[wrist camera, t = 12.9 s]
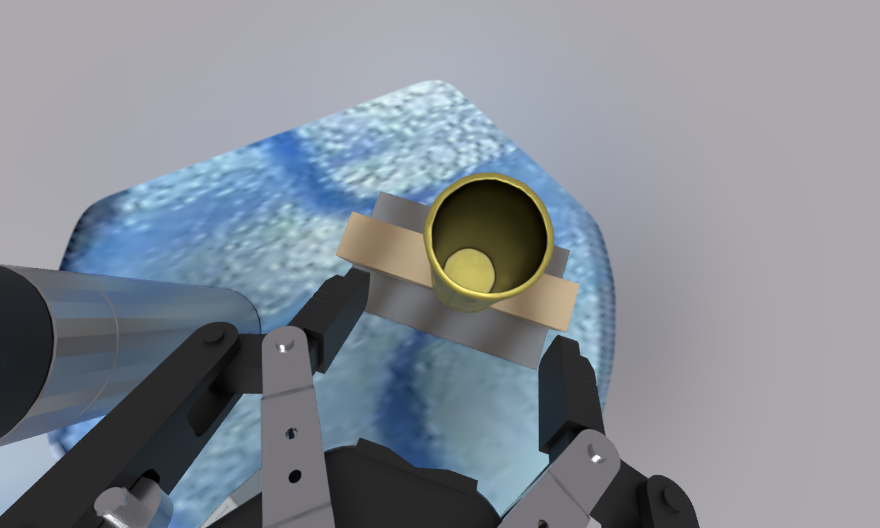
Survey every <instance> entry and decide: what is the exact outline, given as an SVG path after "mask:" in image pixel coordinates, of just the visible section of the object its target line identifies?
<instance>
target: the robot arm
mask: <svg viewBox="0 0 880 528" xmlns="http://www.w3.org/2000/svg"><path fill="white" fill-rule="evenodd" d="M369 285H370V272H367V271H364V270H361V269H358V268H355V267H352V268H351V269H350V270H349V271H348V273H347V274H346V275H345V276H344V277H342V276H339V275H335V276H333V277H332V278H330V279H328V280H326V281H325V282H324V283H323V284H322V286H321V287H320V288H319V289H318V291H316V293H315V294H314V295H313V297H312V298H310V300H309V301H308V302H307V303H306V304H305V305H304V307H303V308H302V309H301V310H300V311H299V312H298V314H297V315H296V316H295V317H294V318H293V319H292V321H291V322H290V323H289V324H288V325H287V326H283V327H279V328H276V329H274V330H272V331H271V332H269V333H268V334H260V325H259V319H258V316H257V313H256V311H255V309H254V308H253V306H252V304H251V303H250V302H249V301H248V300H247V299H246V298H245V297H244V296H242V295H241V294H239V293H237V292H235V291H232V290H229V289H221V288H212V287H204V286H196V285H187V284H178V283H169V282H160V281H151V280H142V279H133V278H123V277H114V276H105V275H96V274H87V273H78V272H69V271H57V270H48V269H39V268H29V267H20V266H11V265H2V264H0V446H4V445H7V444H10V443H14V442H17V441H20V440H23V439H27V438H31V437H33V436H37V435H40V434H44V433H47V432H50V431H53V430H57V429H60V428H63V427H67V426H70V425H74V424H77V423H80V422H84V421H87V420H90V419H94V418H97V417H101V416H104V415H106V416H105V417H104V418H103V419H102V420H101V421H100V422H99V423H98V424H97V425H96V426H95V427H94V428H93V429H91V430H90V431H89V432H88V433H87V434H86V435H85V436H84V437H83V438H82V439H81V440H80V441H79V442H78V443H77V444H76V445H75V446H74V447H73V448H72V449H71V450H69V451H68V452H67V453H66V454H65V455H64V456H63V457H62V458H61V459H60V460H59V461H58V462H57V463H56V464H55V465H54V466H53V467H52V468H51V469H50V470H49V471H47V472H46V473H45V474H44V475H43V476H42V477H41V478H40V479H39V480H38V481H37V482H36V483H35V484H34V485H33V486H32V487H31V488H30V489H29V490H28V491H27V492H25V493H24V494H23V495H22V496H21V497H20V498H19V499H18V500H17V501H16V502H15V503H14V504H13V505H12V506H11V507H10V508H9V509H8V510H7V511H5V513H3V514H2V515H1V516H0V528H167V527H168V525H169V523H170V521H171V519H172V515H173V503H172V500H171V499H170V497H169V496H168V495H169V494H170V493H171V491H172V490H173V489H174V487H175V486H176V484H177V483H178V482H179V480H180V479H181V478H182V476H183V475H184V474H185V472H186V471H187V470H188V468H189V467H190V465H191V464H192V463H193V461H194V460H195V459H196V457H197V456H198V455H199V453H200V452H201V451H202V449H203V448H204V446H205V445H206V444H207V442H208V441H209V440H210V438H211V437H212V436H213V434H214V433H215V431H216V430H217V429H218V427H219V426H220V425H221V423H222V422H223V421H224V419H225V418H226V417H227V415H228V414H229V412H230V411H231V410H232V408H233V407H234V406H235V404H236V403H237V402H238V400H239V399H240V398H241V396H242V395H243V393H244V394H263V398H262V399H261V452H262V491H261V492H260V493H258V494H257V495H255V496H254V497H252V498H251V499H249V500H248V501H246V502H244V503H243V504H241V505H240V506H238V507H237V508H235V509H234V510H232V511H230V512H229V513H227V514H226V515H224V516H223V517H221V518H220V519H218V520H217V521H215V522H213V523H212V524H210V525H209V526H207V527H206V528H586V527H587V525H588V523H589V521H590V518H589V515H590V516H591V517H592V518H594V519H595V520H596V521H598V522H599V523H600V524H601V526H602V528H700V527H699V524H698V520H697V517H696V513H695V510H694V507H693V505H692V503H691V501H690V499H689V498H688V496H687V495H686V494H685V492H684V491H683V490H682V489H681V488H680V487H679V486H678V485H677V484H676V483H675V482H674V481H672V480H671V479H669V478H667V477H665V476H662V475H654V476H651V477H650V478H647V477H645V476H644V475H642V474H641V473H639V472H638V471H637V470H635V469H634V468H632V467H631V466H629V465H628V464H626V463H625V462H624V461H622V460H621V459H620V457H619V454H618V452H617V449H616V448H615V447H614V445H613V443H612V442H611V441H610V440H609V439H608V438H607V437H606V435H605V431H604V425H603V419H602V413H601V407H600V401H599V396H598V389H597V386H596V378H595V372H594V369H593V368H592V366H591V364H590V362H589V360H588V359H587V358H585V357H582V356H580V350H579V343H578V342H577V341H575V340H572V339H569V338H566V337H563V336H560V335H557V336H556V337H555V339H554V340H553V342H552V343H551V345H550V346H549V348H548V349H547V351H546V352H545V354H544V355H543V357H542V359H541V362H540V365H539V372H538V377H539V451H540V452H543V453H546V454H549V464H548V465H547V466H546V467H545V468H544V469H543V470H542V471H541V472H540V474H539V475H538V476H537V477H536V478H535V479H534V480H533V481H532V482H531V484H530V485H529V486H528V487H527V488H526V489H525V490H524V491H523V492H522V493H521V495H520V496H519V497H518V498H517V499H516V500H515V501H514V502H513V503H512V504H511V505H510V506H509V507H508V508H507V509H506V511H505V512H504V513H503V514H502V515H501V516H499V515H498V513H497V512H496V510H495V509H494V507H493V506H492V505H491V503H490V502H489V501H488V500H487V499H486V498H485V497H484V496H483V495H482V494H481V493H479V492H478V491H477V482H478V480H475V479H472V478H469V477H467V476H464V475H461V474H458V473H456V472H453V471H450V470H444V469H428V468H416V467H414V466H412V465H411V464H410V463H408V462H407V461H406V460H404V459H403V458H401V457H400V456H399V455H397V454H396V453H395V452H393V451H392V450H390V449H389V448H387V447H384V446H382V445H379V444H376V443H374V442H371V441H368V440H365V439H363V438H359V441H358V443H357V445H356V446H341V447H336V448H333V449H330V450H327V451H325V452H324V451H323V444H322V437H321V430H320V423H319V416H318V409H317V402H316V395H315V389H314V386H313V380H312V377H313V375H314V374H315V372H316V371H317V372H320V373H323V374H325V372H326V371H327V369H328V368H329V366H330V364H331V363H332V361H333V360H334V358H335V356H336V355H337V353H338V352H339V350H340V348H341V347H342V345H343V344H344V342H345V340H346V339H347V337H348V336H349V334H350V332H351V331H352V329H353V328H354V326H355V324H356V323H357V321H358V320H359V318H360V316H361V315H362V313H363V312H364V310H365V307H366V305H367V301H368V296H369Z"/></svg>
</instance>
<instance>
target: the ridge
mask: <svg viewBox="0 0 880 528" xmlns="http://www.w3.org/2000/svg"><path fill="white" fill-rule="evenodd" d="M430 209H431V207H429V206H426V205H423V204H420V203H417V202H413V201H410V200H407V199H404V198H401V197H398V196H394V195H391V194H388V193H385V192H382V191H380V193H379V196H378V199H377V201H376V204H375V207H374V209H373V212H372V215H371V217H367V216H364V215H361V214H358V213H355V212H352V214H351V217H350V219H349V222H348V224H347V227H346V230H345V232H344V235H343V237H342V240H341V243H340V245H339V248H338V250H337V253H336V256H338V257H340V258H342V259H344V260H346V261H348V262H350V263H352V264H353V265H352V267H355V268H358V269H361V270H364V271H367V272H370V285H369V296H368V301H367V305H366V307H365V310H364V311H365V312H368V313H371V314H374V315H377V316H380V317H383V318H386V319H389V320H392V321H395V322H397V323H400V324H403V325H406V326H409V327H412V328H415V329H418V330H421V331H424V332H427V333H430V334H432V335H435V336H438V337H441V338H444V339H447V340H450V341H453V342H456V343H459V344H462V345H464V346H467V347H470V348H473V349H476V350H479V351H482V352H485V353H488V354H491V355H494V356H496V357H499V358H502V359H505V360H508V361H511V362H514V363H517V364H520V365H523V366H526V367H528V368H531V369H534V370H536V369H537V366H538V362H539V359H540V355H541V352H542V348H543V345H544V341H545V337H546V334H547V330H548V329H552V330H558V331H564V332H567V329H568V325H569V322H570V318H571V314H572V311H573V307H574V303H575V300H576V296H577V292H578V289H579V284H576V283H573V282H570V281H567V280H564V279H562V277H563V274H564V270H565V266H566V263H567V259H568V256H569V252H570V250H567V249H564V248H560V247H557V246H554V248H553V253H552V257H551V259H550V261H549V264H548V266H547V267H546V269H545V271H544V273H543V274H542V276H541V277H540V278H539V280H538V281H537V282H536V283H535V284H534V285H533V286H531V287H530V288H528V289H527V290H526V291H524V292H523V293H521V294H519V295H518V296H516V297H514V298H510V299H506V300H502V301H499V302H497V303H495V304H493V305H491V306H490V307H489V308H487V309H485V310H482V311H480V312H476V313H462V312H458V311H455V310H452V309H450V308H449V307H447V306H446V305H444V304H443V303H442V302H441V301H440V299H439V298H438V297H437V295H436V293H435V291H434V289H433V287H432V281H431V270H430V263H429V261H428V257H427V254H426V250H425V245H424V240H423V227H424V222H425V219H426V217H427V215H428V213H429V211H430Z"/></svg>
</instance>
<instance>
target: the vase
mask: <svg viewBox="0 0 880 528" xmlns="http://www.w3.org/2000/svg"><path fill="white" fill-rule="evenodd" d="M423 240H424V245H425V250H426V254H427V257H428V261H429V263H430V270H431V281H432V287H433V289H434V291H435V293H436V295H437V297H438V298H439V299H440V301H441V302H442V303H443V304H444V305H446V306H447V307H449V308H450V309H452V310H455V311H458V312H462V313H476V312H480V311H482V310H485V309H487V308H489V307H490V306H491V305H493V304H495V303H497V302H499V301H502V300H506V299H510V298H514V297H516V296H518V295H519V294H521V293H523V292H524V291H526V290H527V289H528V288H530V287H531V286H533V285H534V284H535V283H536V282H537V281H538V280H539V278H540V277H541V276H542V274H543V273H544V271H545V269H546V267H547V266H548V264H549V261H550V259H551V257H552V253H553V248H554V231H553V227H552V223H551V220H550V217H549V214H548V211H547V209H546V207H545V205H544V203H543V202H542V201H541V199H540V198H539V197H538V196H537V194H536V193H535V192H534V191H533V190H532V189H531V188H530V187H529V186H527V185H526V184H525V183H523V182H521V181H519V180H516V179H513V178H511V177H508V176H506V175H503V174H499V173H478V174H473V175H469V176H466V177H464V178H462V179H459V180H458V181H456V182H455V183H453V184H452V185H450V186H449V187H448V188H446V189H445V190H444V191H443V192H442V193H440V195H439V196H438V197H437V198H436V199H435V201H434V203H433V205H432V207H431V209H430V211H429V213H428V215H427V217H426V219H425V222H424V227H423Z"/></svg>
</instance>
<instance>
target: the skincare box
mask: <svg viewBox="0 0 880 528" xmlns="http://www.w3.org/2000/svg"><path fill="white" fill-rule="evenodd" d="M261 491H262V468H261V469H259V470H258V471H257V472H256V473H255V474H254V475H252V476H251V477H250V478H249V479H248V480H246V481H245V482H244V483H243V484H242V485H241V486H239V487H238V488H237V489H236V490H235V491H233V492H232V493H231V494H230V495H229V496H228V497H227V498H226V499H225V500H224V501H223V502H222V503H221V504H220V505H219V506H218V507H217V508H216V509H215V511H214V512H213V513H212V514H211V515H210V516H209V517H208V518H207V519H206V520H205V522H204V523H203V524H202V525H201V526H200V527H199V528H206V527H207V526H209V525H210V524H212V523H213V522H215V521H217V520H218V519H220V518H221V517H223V516H224V515H226V514H227V513H229V512H230V511H232V510H234V509H235V508H237V507H238V506H240V505H241V504H243V503H244V502H246V501H248V500H249V499H251V498H252V497H254V496H255V495H257V494H258V493H260V492H261Z"/></svg>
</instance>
